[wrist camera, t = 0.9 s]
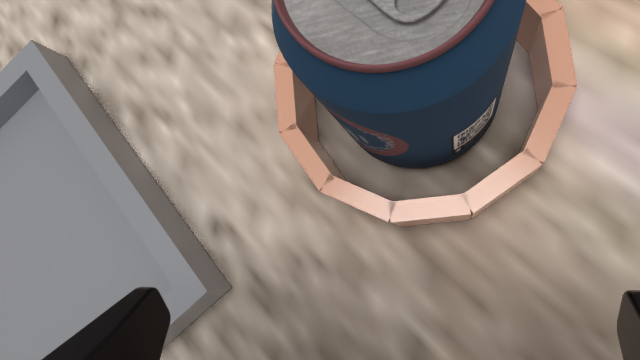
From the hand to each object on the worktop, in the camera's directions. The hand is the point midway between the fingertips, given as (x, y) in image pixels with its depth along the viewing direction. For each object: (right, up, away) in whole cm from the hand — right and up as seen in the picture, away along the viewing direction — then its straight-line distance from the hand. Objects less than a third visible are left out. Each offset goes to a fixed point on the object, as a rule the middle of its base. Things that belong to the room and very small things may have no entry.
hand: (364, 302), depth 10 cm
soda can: (+4, +6, +14) cm, 16 cm away
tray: (-17, -2, +18) cm, 25 cm away
